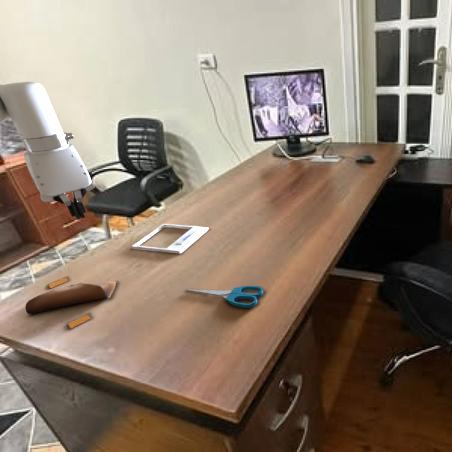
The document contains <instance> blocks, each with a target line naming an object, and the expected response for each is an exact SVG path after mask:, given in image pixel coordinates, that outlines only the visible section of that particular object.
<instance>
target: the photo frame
mask: <svg viewBox="0 0 452 452" xmlns="http://www.w3.org/2000/svg"><path fill="white" fill-rule="evenodd" d="M164 228H169V229H170V228H172V229H183V230H188V231H186V232H185V233H184V234H183V235H181V236H180V237H179V238H177V239H176V240H175V241H174V242H173V243H171V244H170V245H169V246H167V247H157V246H156V247H155V246H145V245H142V244H144V242H146V241H147V240H149V239H150V238H151V237H153V236H154V235H155V234H157V233H159V232H160V231H162V229H164ZM209 229H210V228H209V227H208V226H196V225H187V224H186V225H184V224H172V223H162V224H161V225H160V226H158V227H157V228H155V229H154V230H152V231H150V232H149V233H148V234H146V235H145V236H143V237H142V238H140V240H138V241H137V242H135V243H134V244H132V245H131V248H132V249H133V250H142V251H152V252H160V253H169V254H182V253H184V251H186V250H187V249H188V248H189V247H190V246H192V244H194V243H195V242H197V240H199V239H200V238H201V237H202V236H203V235H204V234H206V233H207V232H208V231H209Z"/></svg>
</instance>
